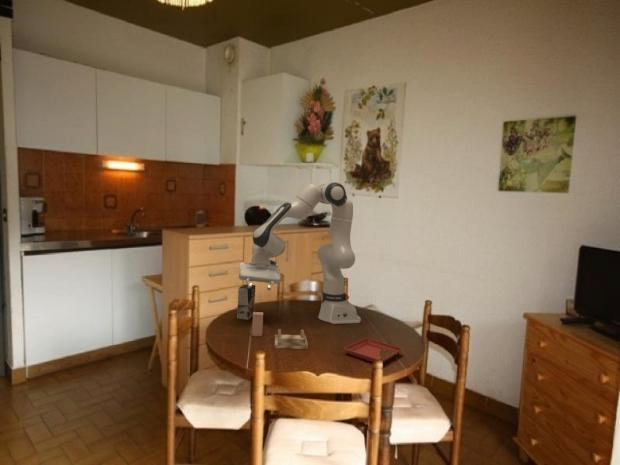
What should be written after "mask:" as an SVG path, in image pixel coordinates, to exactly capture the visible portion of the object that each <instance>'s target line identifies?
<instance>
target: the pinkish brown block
mask: <svg viewBox="0 0 620 465" xmlns="http://www.w3.org/2000/svg"><path fill="white" fill-rule="evenodd" d="M263 325H264V312H262V311H261V312H259V311H258V312H257V311H254V312H253V316H252V328H251V329H252V330H251V336H252V337H263V327H264V326H263Z"/></svg>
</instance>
